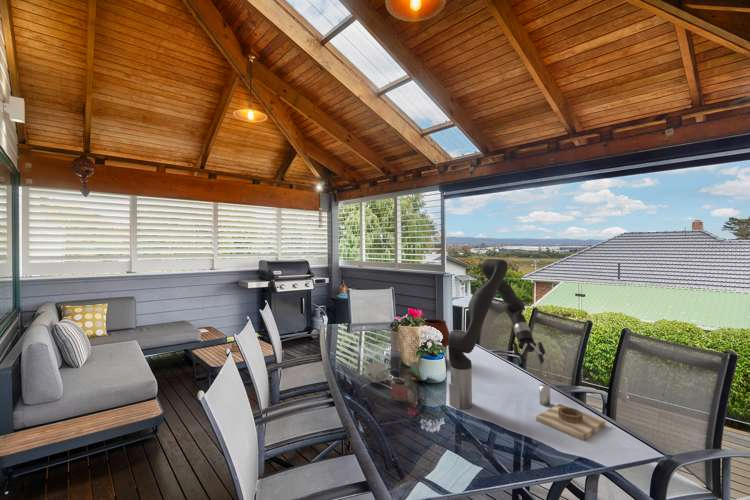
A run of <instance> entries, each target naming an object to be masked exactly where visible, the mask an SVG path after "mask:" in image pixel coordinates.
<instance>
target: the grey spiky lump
mask: <svg viewBox="0 0 750 500" xmlns="http://www.w3.org/2000/svg"><path fill="white" fill-rule="evenodd" d="M364 370H365V374H366V376H367V378H368V379H369V380H370V381H371V382H372V383H374V384H381V383H382V382H383V381H387V380H388V372H389V365H388V364H387V363H386V362H385V363H384V362H377V361H376V362H371V363H368V364H366V365H365V366H364Z"/></svg>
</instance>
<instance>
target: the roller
mask: <svg viewBox="0 0 750 500" xmlns="http://www.w3.org/2000/svg"><path fill="white" fill-rule="evenodd" d="M538 391H539V397H538V398H539V399H538V400H539V405H540V406H543V407H550V406H551V386H550V385H549V384H539V390H538Z"/></svg>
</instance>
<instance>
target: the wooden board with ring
mask: <svg viewBox="0 0 750 500" xmlns="http://www.w3.org/2000/svg"><path fill="white" fill-rule="evenodd" d="M535 417H536V418H535V419H536V422H538V423H541V424H543V425H546V426H548V427H550V428H552V429H555V430H557V431H559V432H562V433H564V434H566V435H569V436H571V437H573V438H575V439H578V440H580V441H582V442H584V441H585V440H586V439H588V438H589V437H590V436H593V435H594V434H595V433H597V432H598V431H599V430H601V429H603V428H604V427H605V426H606V420H605V419H603V418H599V417H597V416H593V415H592V414H588V413H586V412H583V411H580V410H579V409H577V408H573V407H569V406H567V405H564V404H561V403H559V404H556V405H554V406H552V407H551V408H549V409H547V410H545V411H543V412H541V413H539V414H538V415H536V416H535Z"/></svg>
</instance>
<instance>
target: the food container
mask: <svg viewBox="0 0 750 500" xmlns="http://www.w3.org/2000/svg"><path fill="white" fill-rule="evenodd" d="M418 361H419V360H417V361H415V362H414V361H413V362H412V361H408V366H409V373H410V380H411V381H413V382H418V381H421V377H420V372H419V363H418Z"/></svg>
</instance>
